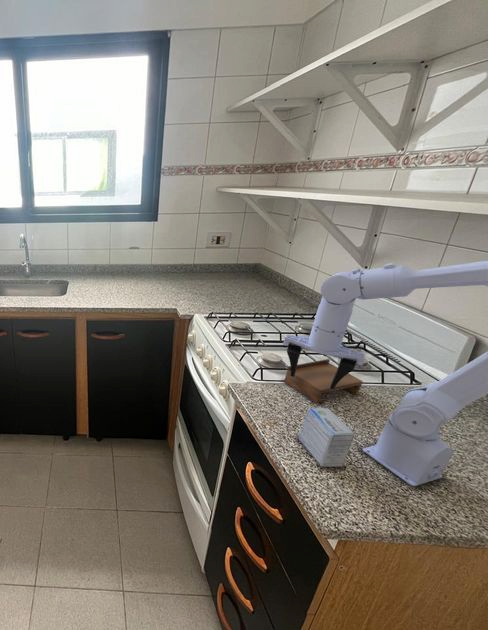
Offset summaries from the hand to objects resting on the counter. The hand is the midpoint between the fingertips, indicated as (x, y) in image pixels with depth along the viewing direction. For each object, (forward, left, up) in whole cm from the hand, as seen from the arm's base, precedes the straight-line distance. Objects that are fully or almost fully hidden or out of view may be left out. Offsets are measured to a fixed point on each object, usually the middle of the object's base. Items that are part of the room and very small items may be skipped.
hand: (312, 380), depth 79 cm
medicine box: (-10, +6, -10) cm, 16 cm away
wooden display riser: (+8, -15, -10) cm, 20 cm away
